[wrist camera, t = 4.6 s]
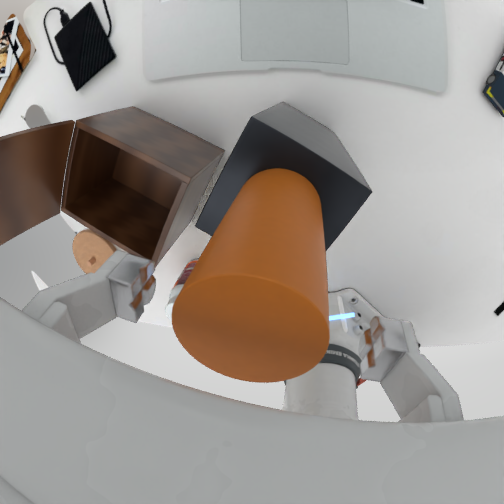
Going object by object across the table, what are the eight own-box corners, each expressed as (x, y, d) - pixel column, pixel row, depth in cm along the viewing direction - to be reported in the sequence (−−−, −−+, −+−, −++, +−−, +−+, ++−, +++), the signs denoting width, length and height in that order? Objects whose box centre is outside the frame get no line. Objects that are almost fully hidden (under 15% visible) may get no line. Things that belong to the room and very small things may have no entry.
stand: (334, 132, 35) (372, 191, 15) (304, 178, 40) (299, 284, 20) (283, 101, 34) (251, 116, 14) (254, 149, 39) (194, 226, 19)
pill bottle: (184, 256, 51) (157, 297, 41) (217, 259, 50) (196, 303, 40) (188, 283, 54) (166, 325, 44) (219, 287, 53) (201, 332, 44)
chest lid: (-60, 163, 11) (-61, 159, 11) (-40, 271, 18) (-42, 267, 19) (75, 121, 26) (71, 119, 26) (60, 213, 33) (57, 210, 33)
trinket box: (140, 266, 54) (117, 296, 46) (98, 253, 54) (72, 279, 47) (139, 218, 48) (110, 245, 40) (93, 207, 49) (62, 230, 41)
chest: (225, 150, 39) (191, 178, 28) (190, 222, 47) (154, 268, 36) (132, 106, 37) (76, 120, 26) (110, 178, 45) (60, 210, 34)
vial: (337, 197, 16) (364, 327, 8) (292, 258, 19) (274, 396, 10) (262, 152, 15) (204, 240, 7) (224, 220, 18) (155, 342, 10)
